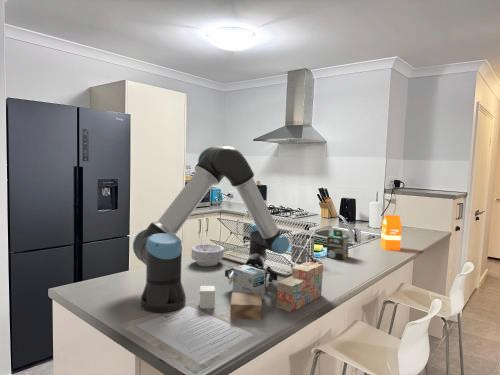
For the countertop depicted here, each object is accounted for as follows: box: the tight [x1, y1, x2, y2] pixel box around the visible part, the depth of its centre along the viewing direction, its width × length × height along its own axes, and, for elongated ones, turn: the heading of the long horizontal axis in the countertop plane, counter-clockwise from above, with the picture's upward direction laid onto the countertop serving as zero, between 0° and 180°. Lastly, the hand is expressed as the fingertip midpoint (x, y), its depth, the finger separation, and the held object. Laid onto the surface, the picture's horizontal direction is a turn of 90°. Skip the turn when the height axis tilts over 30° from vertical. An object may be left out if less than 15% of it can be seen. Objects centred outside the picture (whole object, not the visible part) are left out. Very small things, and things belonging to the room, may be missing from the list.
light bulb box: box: [232, 264, 266, 301], centre depth 132 cm, size 11×7×11 cm, turn 47°
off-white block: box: [199, 285, 216, 309], centre depth 124 cm, size 5×5×6 cm
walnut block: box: [229, 292, 263, 320], centre depth 119 cm, size 10×10×5 cm
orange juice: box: [380, 214, 402, 251], centre depth 214 cm, size 8×9×20 cm
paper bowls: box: [190, 243, 225, 267], centre depth 172 cm, size 15×15×8 cm
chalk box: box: [326, 229, 350, 261], centre depth 191 cm, size 9×9×15 cm
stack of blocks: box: [275, 261, 324, 313], centre depth 130 cm, size 21×6×12 cm, turn 141°
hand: (248, 281), depth 130 cm, fingers open, 13 cm apart
